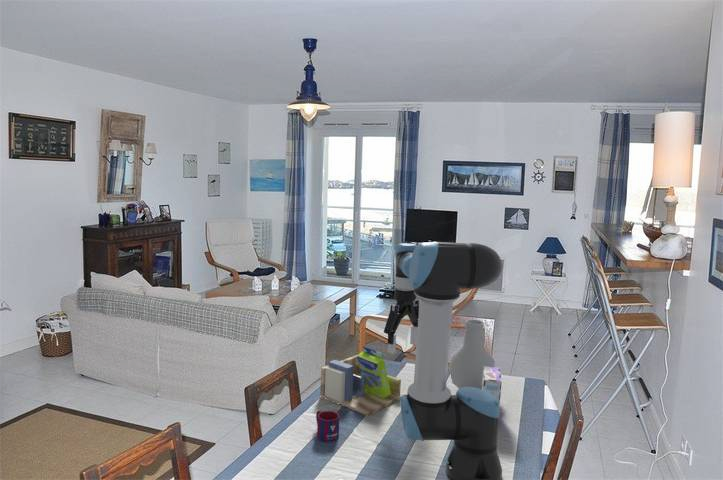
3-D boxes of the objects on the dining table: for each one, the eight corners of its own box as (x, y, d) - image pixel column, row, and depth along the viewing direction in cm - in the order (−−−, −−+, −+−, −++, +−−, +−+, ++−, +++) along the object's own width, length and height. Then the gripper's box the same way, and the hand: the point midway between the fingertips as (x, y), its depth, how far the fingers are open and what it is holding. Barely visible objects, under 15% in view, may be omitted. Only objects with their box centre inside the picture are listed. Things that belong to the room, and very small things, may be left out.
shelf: (367, 415, 187) (368, 384, 185) (320, 396, 201) (321, 367, 199) (402, 398, 202) (403, 369, 201) (356, 382, 216) (357, 354, 215)
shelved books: (342, 402, 194) (343, 369, 193) (324, 395, 200) (325, 363, 198) (352, 398, 198) (353, 365, 197) (333, 391, 204) (334, 359, 202)
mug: (322, 443, 167) (323, 422, 166) (309, 429, 176) (309, 408, 175) (342, 439, 170) (343, 418, 169) (328, 425, 179) (329, 405, 178)
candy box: (498, 429, 180) (502, 381, 178) (480, 427, 181) (483, 379, 179) (497, 412, 194) (500, 366, 192) (479, 410, 195) (482, 364, 193)
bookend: (355, 398, 198) (355, 382, 197) (334, 390, 204) (335, 375, 203) (365, 394, 202) (365, 378, 201) (344, 386, 208) (345, 371, 208)
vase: (445, 400, 202) (449, 325, 198) (449, 383, 218) (453, 314, 214) (492, 406, 198) (498, 330, 194) (493, 389, 214) (498, 318, 210)
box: (363, 390, 205) (354, 351, 199) (371, 384, 208) (362, 345, 202) (384, 399, 198) (376, 358, 192) (392, 393, 200) (383, 352, 194)
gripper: (393, 295, 179) (390, 359, 181) (434, 285, 198) (431, 343, 201) (374, 291, 184) (372, 354, 186) (416, 282, 203) (413, 338, 205)
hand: (402, 348), depth 193 cm, fingers open, 13 cm apart
